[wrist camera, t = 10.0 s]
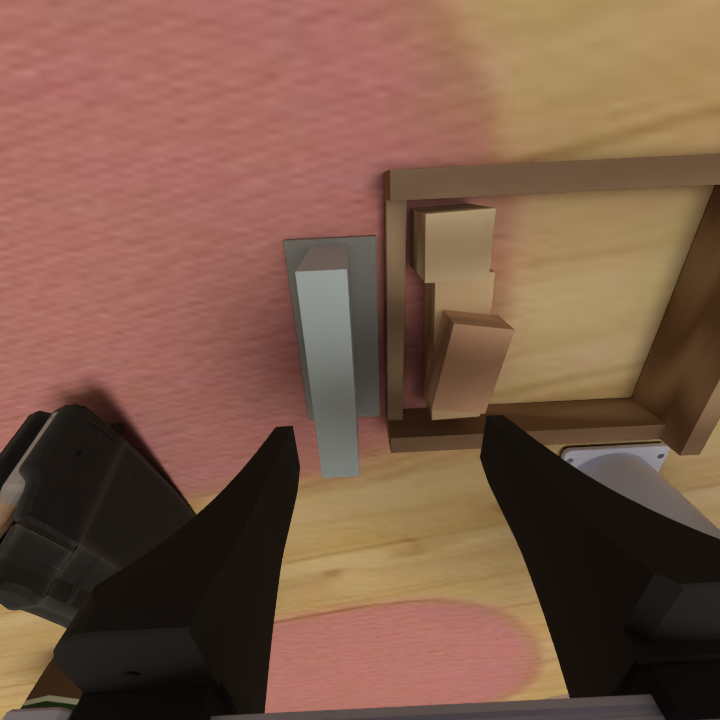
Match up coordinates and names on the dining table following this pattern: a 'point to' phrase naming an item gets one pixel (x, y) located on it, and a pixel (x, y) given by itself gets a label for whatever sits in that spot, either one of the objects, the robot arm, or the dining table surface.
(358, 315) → the grey flat rectangular plate
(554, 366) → the dining table surface
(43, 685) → the beer bottle
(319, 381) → the grey block
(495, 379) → the offcut top
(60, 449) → the magazine
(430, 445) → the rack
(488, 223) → the offcut short
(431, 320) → the block
